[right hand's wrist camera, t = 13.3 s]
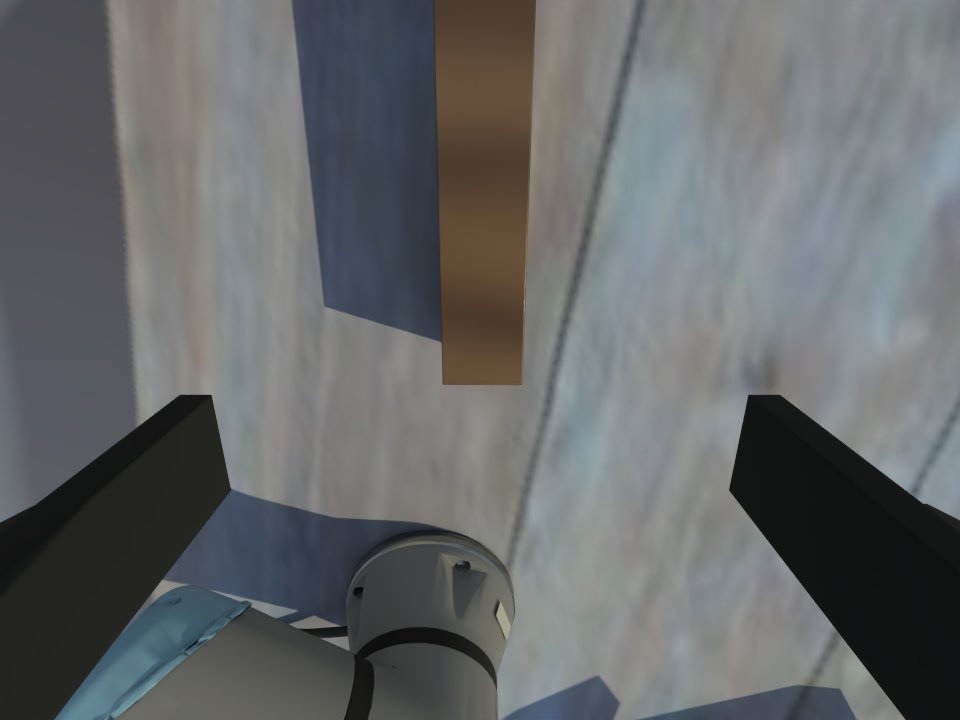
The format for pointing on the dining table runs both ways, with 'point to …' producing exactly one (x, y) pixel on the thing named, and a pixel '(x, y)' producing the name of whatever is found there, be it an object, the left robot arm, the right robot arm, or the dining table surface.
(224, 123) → the dining table surface
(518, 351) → the bar
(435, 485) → the dining table surface
